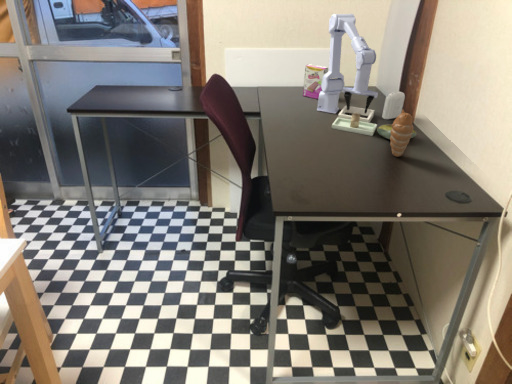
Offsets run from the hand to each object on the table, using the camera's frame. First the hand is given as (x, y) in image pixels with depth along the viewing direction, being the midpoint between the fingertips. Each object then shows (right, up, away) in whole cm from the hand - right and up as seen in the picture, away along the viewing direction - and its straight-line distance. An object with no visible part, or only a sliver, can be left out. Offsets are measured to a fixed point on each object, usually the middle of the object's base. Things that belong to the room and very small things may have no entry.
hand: (356, 111), depth 178 cm
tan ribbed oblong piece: (+10, -22, -19) cm, 31 cm away
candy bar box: (-13, +15, +41) cm, 45 cm away
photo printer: (+21, 0, +18) cm, 28 cm away
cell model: (+15, -12, -3) cm, 20 cm away
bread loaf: (0, -6, +4) cm, 7 cm away
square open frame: (+3, 0, +15) cm, 15 cm away
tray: (0, -7, +4) cm, 8 cm away
